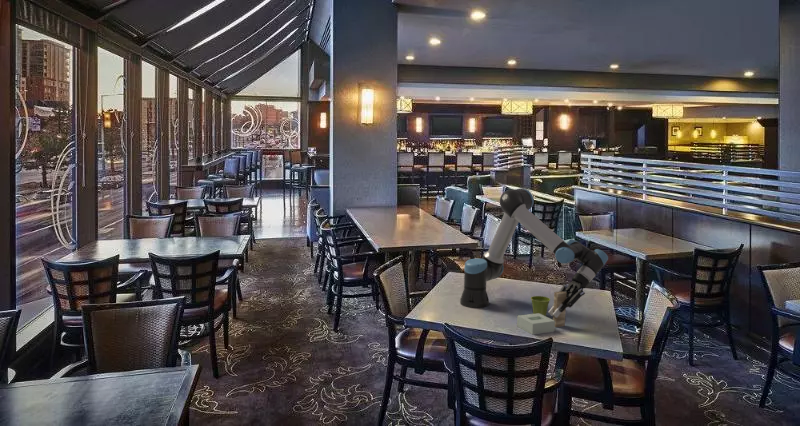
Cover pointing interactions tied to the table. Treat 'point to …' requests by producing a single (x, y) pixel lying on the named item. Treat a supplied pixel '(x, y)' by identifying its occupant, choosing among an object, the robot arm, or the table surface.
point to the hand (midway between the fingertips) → (552, 314)
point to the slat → (558, 300)
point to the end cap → (536, 323)
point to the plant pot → (540, 304)
